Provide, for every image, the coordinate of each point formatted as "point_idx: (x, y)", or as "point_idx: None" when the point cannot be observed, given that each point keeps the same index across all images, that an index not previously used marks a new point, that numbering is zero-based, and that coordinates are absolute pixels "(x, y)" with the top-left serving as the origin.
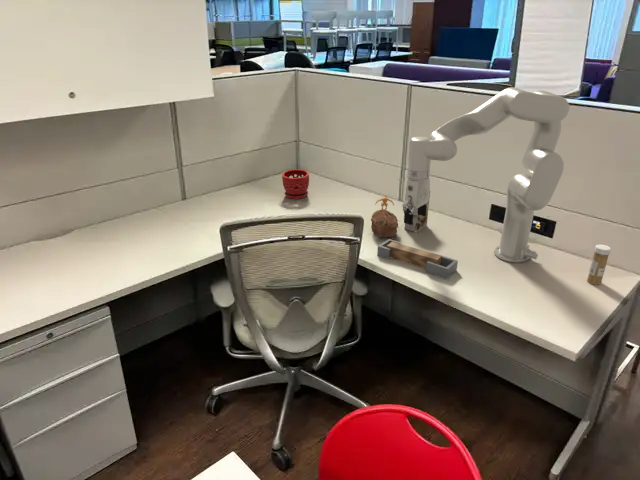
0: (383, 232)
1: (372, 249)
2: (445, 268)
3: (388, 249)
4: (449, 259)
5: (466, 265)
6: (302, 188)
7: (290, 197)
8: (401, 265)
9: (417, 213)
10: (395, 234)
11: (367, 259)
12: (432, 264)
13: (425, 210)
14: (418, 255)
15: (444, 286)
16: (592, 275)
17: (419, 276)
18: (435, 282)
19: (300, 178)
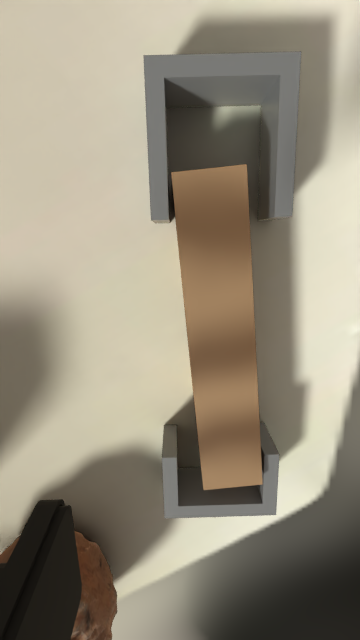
0: (102, 572)
1: (224, 518)
2: (299, 70)
3: (278, 458)
4: (164, 115)
5: (54, 71)
6: None
7: None
8: (280, 348)
9: (74, 603)
10: None
11: (320, 484)
12: (293, 174)
13: (22, 591)
14: (252, 297)
15: (355, 54)
16: None
17: (330, 222)
18: (341, 120)
19: None
